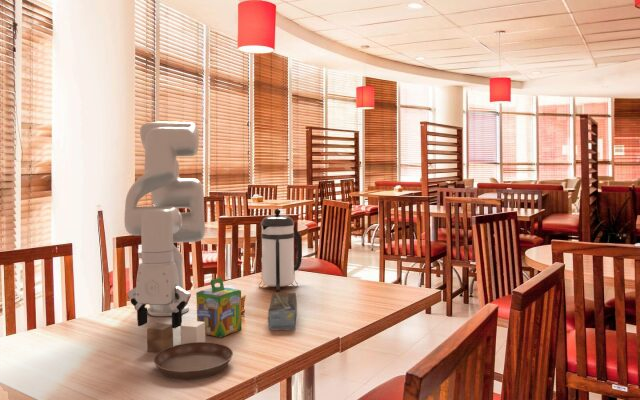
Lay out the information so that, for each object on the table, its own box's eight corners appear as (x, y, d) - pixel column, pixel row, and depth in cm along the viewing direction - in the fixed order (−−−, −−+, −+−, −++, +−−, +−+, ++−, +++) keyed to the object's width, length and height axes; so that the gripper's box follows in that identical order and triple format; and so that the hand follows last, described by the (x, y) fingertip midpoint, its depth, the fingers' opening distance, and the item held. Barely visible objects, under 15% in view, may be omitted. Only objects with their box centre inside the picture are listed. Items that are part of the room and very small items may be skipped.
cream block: (180, 348, 131) (180, 325, 130) (189, 343, 135) (189, 320, 134) (196, 350, 129) (196, 327, 129) (205, 344, 134) (204, 321, 133)
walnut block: (147, 351, 129) (146, 328, 128) (157, 345, 133) (157, 323, 132) (163, 353, 127) (162, 329, 127) (173, 347, 132) (172, 324, 131)
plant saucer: (245, 371, 116) (245, 358, 116) (167, 390, 106) (166, 376, 106) (216, 349, 131) (216, 337, 131) (145, 363, 121) (144, 351, 121)
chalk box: (220, 338, 138) (219, 284, 137) (195, 333, 143) (194, 280, 142) (243, 329, 146) (242, 277, 145) (219, 324, 151) (218, 274, 150)
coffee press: (299, 291, 189) (298, 210, 187) (256, 292, 189) (255, 210, 187) (301, 281, 206) (301, 206, 204) (262, 281, 206) (261, 207, 205)
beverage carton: (267, 331, 145) (267, 308, 144) (272, 312, 164) (271, 291, 164) (295, 330, 145) (295, 307, 145) (297, 311, 164) (296, 291, 164)
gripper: (118, 259, 127) (120, 327, 128) (180, 261, 122) (182, 332, 123) (136, 255, 134) (138, 320, 135) (196, 256, 130) (198, 323, 130)
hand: (159, 325), depth 129 cm, fingers open, 9 cm apart
